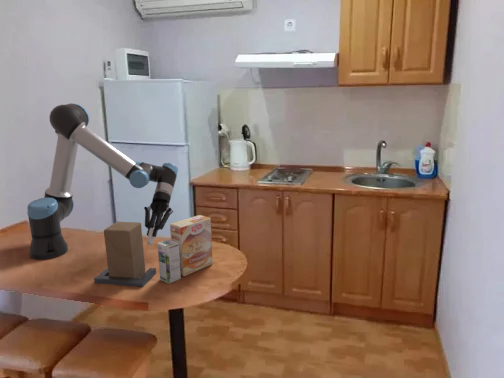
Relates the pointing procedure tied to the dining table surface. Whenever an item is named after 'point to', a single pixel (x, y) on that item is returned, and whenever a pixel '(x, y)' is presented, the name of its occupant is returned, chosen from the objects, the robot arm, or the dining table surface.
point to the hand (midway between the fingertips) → (149, 243)
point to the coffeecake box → (193, 243)
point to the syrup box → (169, 261)
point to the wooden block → (124, 249)
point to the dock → (125, 279)
